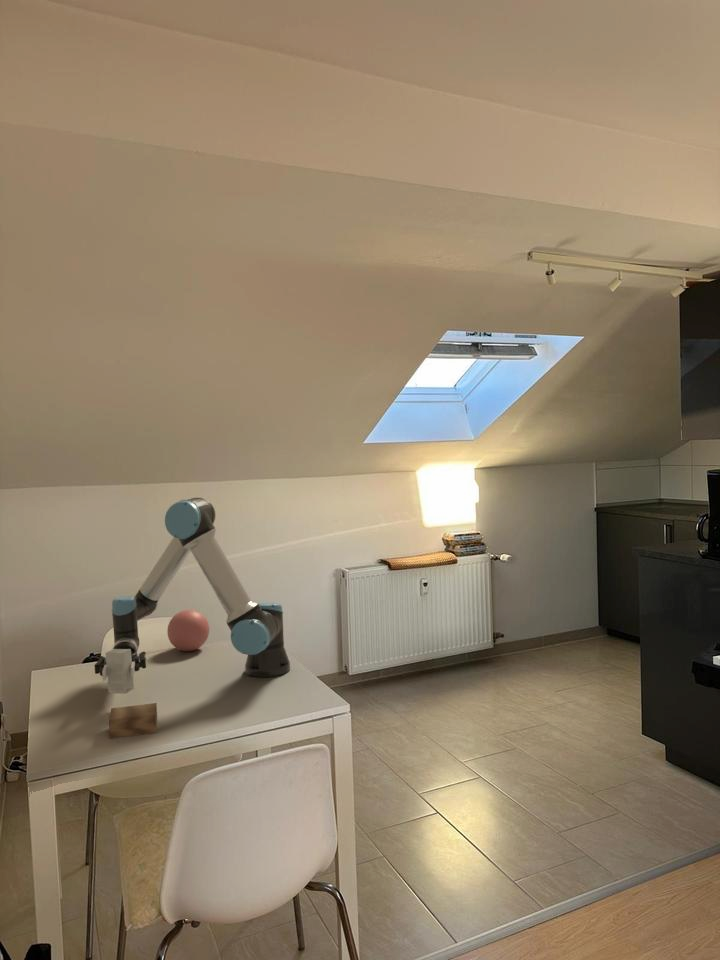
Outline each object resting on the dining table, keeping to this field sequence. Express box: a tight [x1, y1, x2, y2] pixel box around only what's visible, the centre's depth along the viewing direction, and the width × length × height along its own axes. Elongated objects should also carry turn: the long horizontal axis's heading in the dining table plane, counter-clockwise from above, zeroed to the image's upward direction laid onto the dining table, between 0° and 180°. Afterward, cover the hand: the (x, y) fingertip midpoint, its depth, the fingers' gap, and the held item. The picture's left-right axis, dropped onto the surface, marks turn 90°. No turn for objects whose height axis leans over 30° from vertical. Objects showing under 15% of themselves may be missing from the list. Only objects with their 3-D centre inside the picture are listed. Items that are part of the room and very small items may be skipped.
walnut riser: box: [108, 702, 158, 739], centre depth 198 cm, size 12×9×5 cm
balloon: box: [166, 609, 210, 652], centre depth 276 cm, size 15×20×15 cm
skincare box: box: [105, 648, 135, 695], centre depth 211 cm, size 6×4×12 cm
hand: (118, 674), depth 206 cm, fingers closed on skincare box, 7 cm apart
